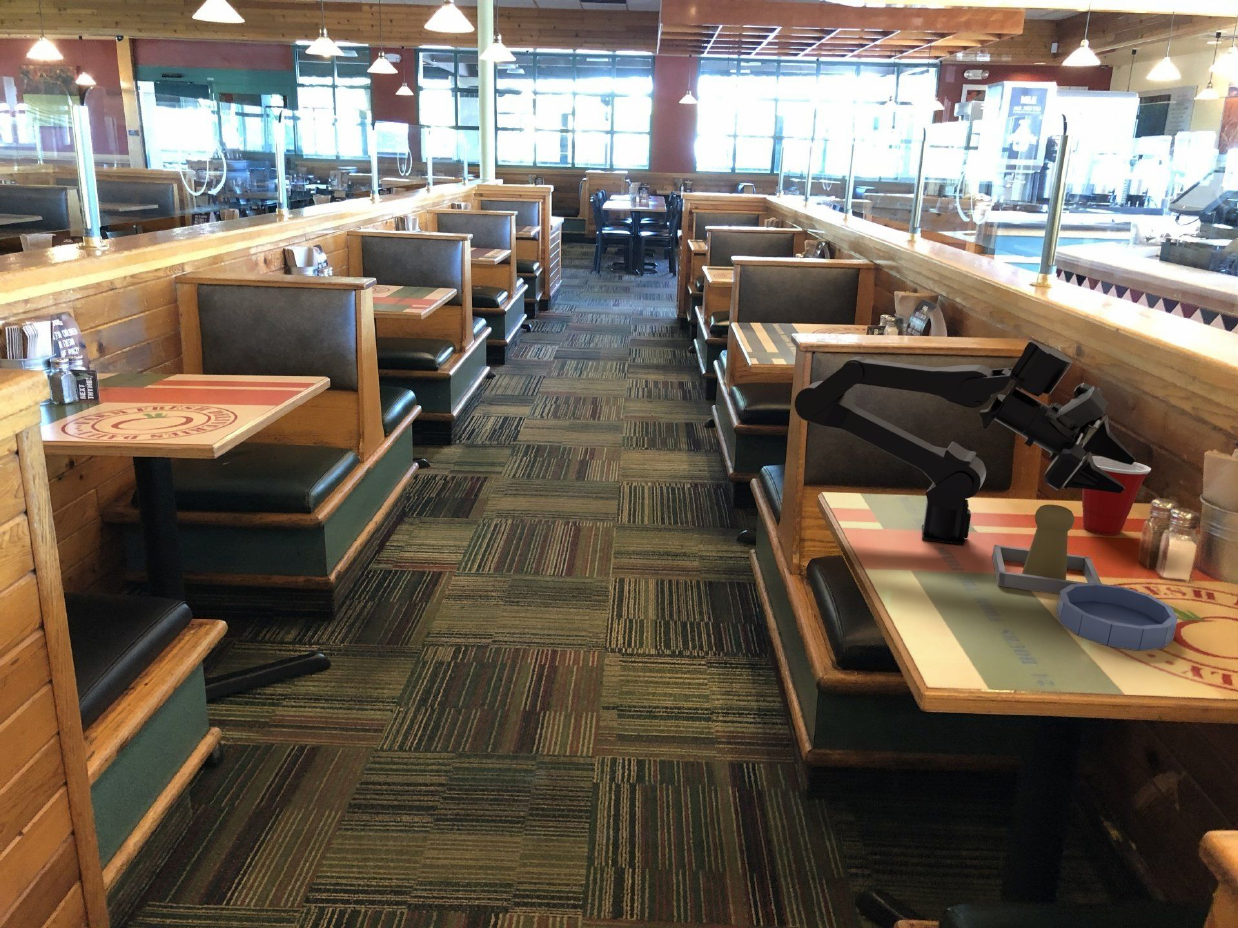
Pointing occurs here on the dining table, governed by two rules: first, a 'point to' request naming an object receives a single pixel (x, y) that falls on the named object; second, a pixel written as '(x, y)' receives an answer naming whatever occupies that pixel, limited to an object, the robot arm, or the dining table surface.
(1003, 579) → the open gray frame
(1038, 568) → the olive game pawn
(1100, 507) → the plastic cup
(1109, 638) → the bowl
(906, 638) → the dining table surface
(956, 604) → the dining table surface
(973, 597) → the dining table surface
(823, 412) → the robot arm
